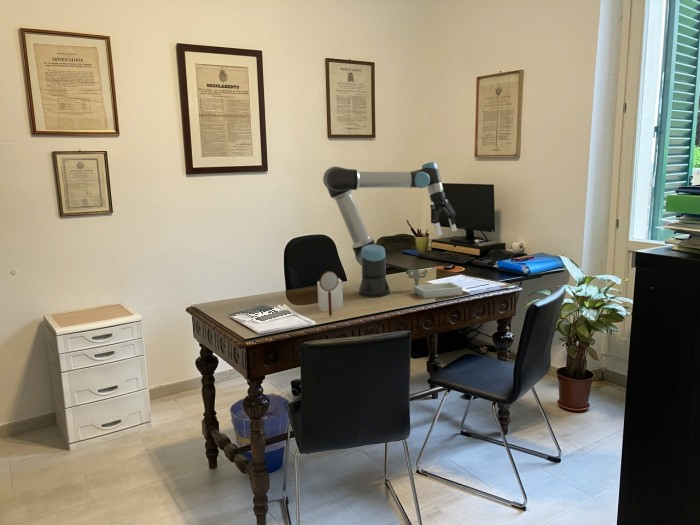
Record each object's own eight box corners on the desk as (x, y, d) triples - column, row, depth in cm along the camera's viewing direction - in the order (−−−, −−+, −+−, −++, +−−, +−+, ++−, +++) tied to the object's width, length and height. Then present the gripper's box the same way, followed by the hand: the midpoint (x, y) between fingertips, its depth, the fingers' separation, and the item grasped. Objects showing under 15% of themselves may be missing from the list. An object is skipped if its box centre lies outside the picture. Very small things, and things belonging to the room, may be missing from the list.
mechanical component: (427, 289, 278) (427, 270, 276) (406, 290, 278) (406, 271, 277) (426, 288, 281) (426, 269, 279) (406, 289, 281) (405, 269, 279)
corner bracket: (339, 303, 260) (338, 278, 257) (345, 309, 249) (344, 283, 247) (317, 305, 257) (315, 280, 255) (322, 311, 246) (321, 285, 244)
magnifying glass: (338, 314, 240) (336, 269, 237) (340, 315, 239) (338, 270, 235) (320, 318, 237) (318, 272, 233) (322, 319, 235) (319, 272, 231)
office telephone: (294, 310, 243) (256, 321, 229) (294, 316, 243) (257, 327, 230) (263, 301, 259) (225, 310, 246) (263, 306, 260) (226, 316, 246)
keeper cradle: (423, 298, 262) (423, 291, 261) (413, 293, 273) (413, 286, 272) (462, 294, 267) (462, 287, 266) (451, 289, 278) (451, 282, 278)
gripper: (456, 185, 272) (467, 227, 272) (430, 196, 295) (440, 235, 295) (443, 188, 269) (454, 230, 269) (418, 199, 292) (428, 238, 292)
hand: (447, 233), depth 282 cm, fingers open, 13 cm apart
